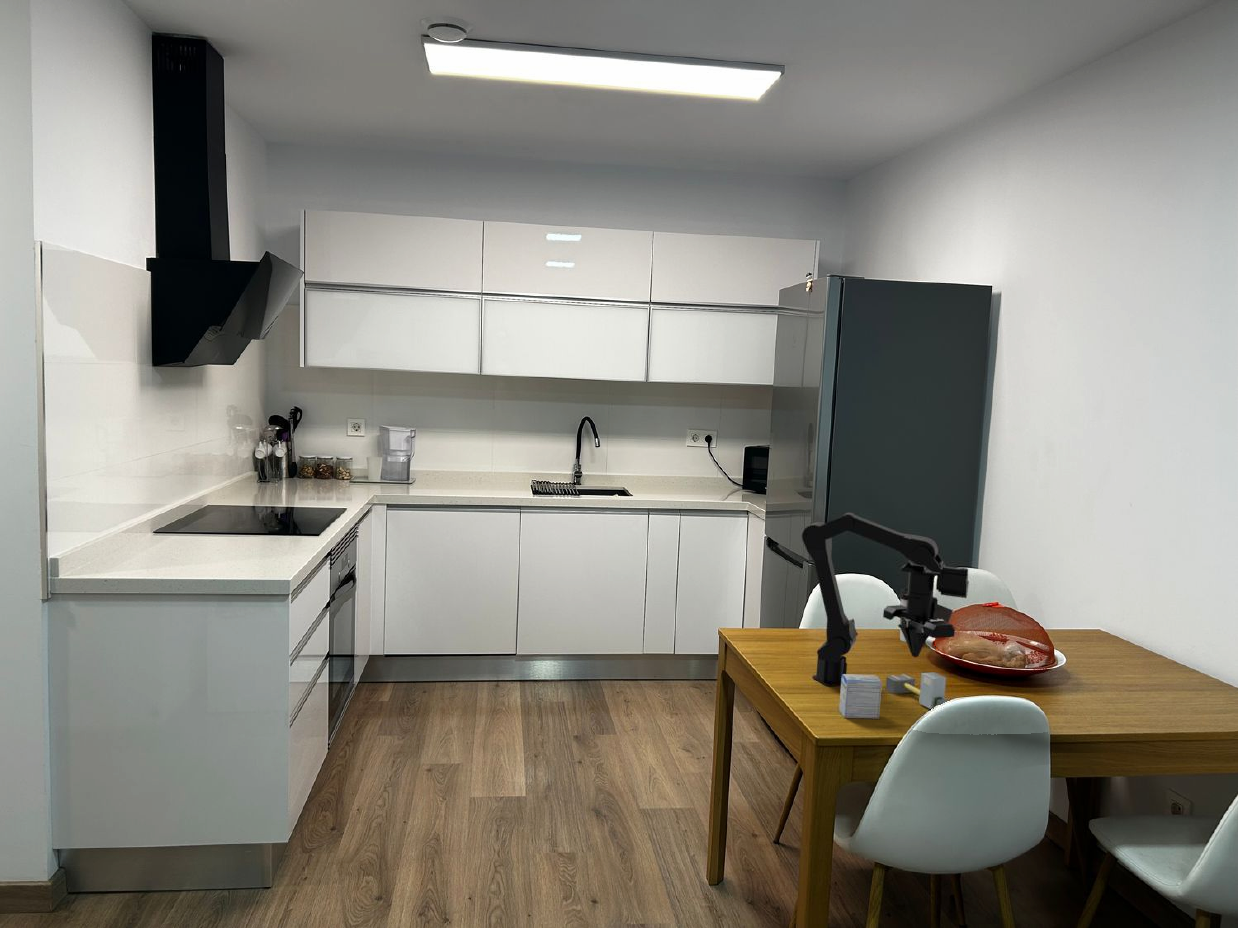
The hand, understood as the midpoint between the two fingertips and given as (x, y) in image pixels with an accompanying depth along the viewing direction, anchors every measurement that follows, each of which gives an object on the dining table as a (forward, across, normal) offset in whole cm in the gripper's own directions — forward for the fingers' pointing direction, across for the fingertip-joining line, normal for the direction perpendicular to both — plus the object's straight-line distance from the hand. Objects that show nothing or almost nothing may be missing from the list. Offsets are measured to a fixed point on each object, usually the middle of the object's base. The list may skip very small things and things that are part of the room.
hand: (915, 656), depth 217 cm
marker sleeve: (+10, -7, 0) cm, 12 cm away
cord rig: (+10, -3, 0) cm, 10 cm away
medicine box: (+10, -7, +20) cm, 24 cm away
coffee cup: (+10, +39, -32) cm, 51 cm away
